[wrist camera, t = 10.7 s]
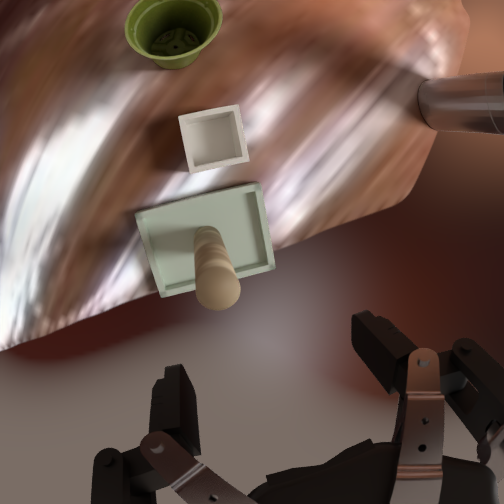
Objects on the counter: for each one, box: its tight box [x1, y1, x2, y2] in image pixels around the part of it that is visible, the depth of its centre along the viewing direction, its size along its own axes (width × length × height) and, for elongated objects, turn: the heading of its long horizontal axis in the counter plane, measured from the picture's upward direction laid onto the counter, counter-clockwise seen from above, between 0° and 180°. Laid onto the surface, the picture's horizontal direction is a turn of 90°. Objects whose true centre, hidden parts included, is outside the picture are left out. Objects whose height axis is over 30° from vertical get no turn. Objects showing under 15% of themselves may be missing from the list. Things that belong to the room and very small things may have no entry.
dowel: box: [194, 226, 240, 310], centre depth 28 cm, size 3×3×14 cm
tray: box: [135, 182, 276, 298], centre depth 34 cm, size 15×11×2 cm
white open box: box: [178, 104, 249, 174], centre depth 29 cm, size 6×6×5 cm
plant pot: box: [125, 0, 222, 69], centre depth 22 cm, size 9×9×9 cm
